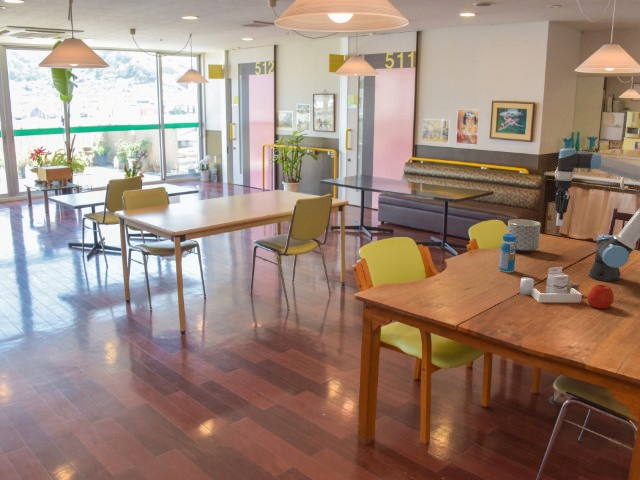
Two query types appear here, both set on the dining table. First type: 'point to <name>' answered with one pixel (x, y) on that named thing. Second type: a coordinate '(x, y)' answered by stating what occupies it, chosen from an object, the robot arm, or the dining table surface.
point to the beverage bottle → (507, 253)
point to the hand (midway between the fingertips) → (559, 225)
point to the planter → (525, 234)
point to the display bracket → (557, 296)
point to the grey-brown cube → (572, 286)
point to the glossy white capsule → (526, 286)
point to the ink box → (556, 281)
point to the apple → (600, 296)
